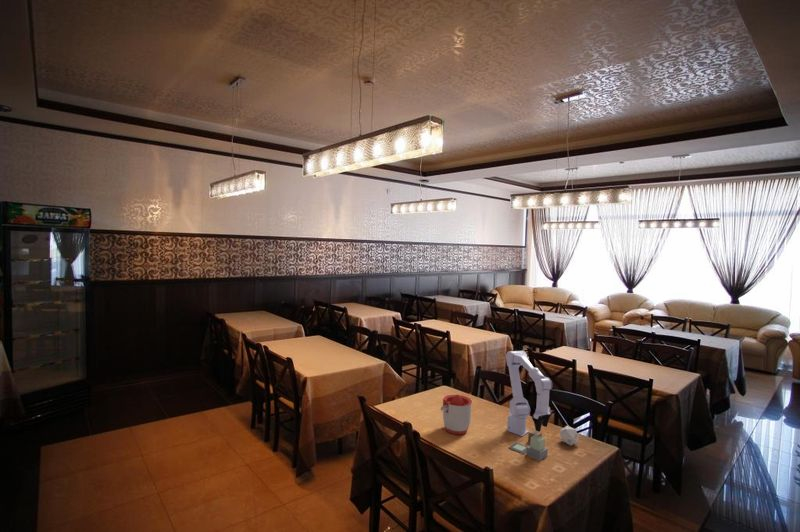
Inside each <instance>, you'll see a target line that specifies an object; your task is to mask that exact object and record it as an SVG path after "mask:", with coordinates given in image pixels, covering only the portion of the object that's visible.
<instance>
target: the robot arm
mask: <svg viewBox="0 0 800 532" xmlns="http://www.w3.org/2000/svg"><path fill="white" fill-rule="evenodd" d="M505 360H506V366H507V367H508V372H509V378H510V379H509V380H510V385H511V392H512V397H513V398H511V400H510V401H509V414H508V415H507V422H506V423H507V426H506V427H507V428H506V431H507V432H510V433H512V434H515V435H517V436H521V437H523V436H525V435H526V434H527V433H528V432H530V431H529V430H528V429H527V418H528V417H529V415H530V413H531V407H530V404H529V401H528V400H527V399H526V398H525V397H524V394H523V388H522V383H521V376H520V369H519V368H520V366H522V367H523V368H525V369H526V371H527V372H528V376H529V377H530V378H531V380H532V381H533V382H534V386H535V391H536V408H535V410H534V411H535V412H534V414H533V415H532V416H531V419H532V421H533V424H534V428H535V429H534V430H536V431H539V432H541V430H542V426H543V427H544V428H545V427H546V428H547V427H548V425H549V421H550V418H551V417H552V415H553V413H552V412H551V407H550V406H549V405H550V404H549V402H550V390H552V389H553V381H552V380H551V378H550V377H547V376H545V375H544V374H543V373H542V372H541V371H540V369H539V368H538V367H534V366H533V364H532V363H531V362H530V360H529V359H528V354H527V353H526V352H525V350H523V349H522V350H513V351H512V350H509V351H507V353H506V355H505Z"/></svg>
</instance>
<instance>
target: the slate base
mask: <svg viewBox="0 0 800 532" xmlns="http://www.w3.org/2000/svg"><path fill="white" fill-rule="evenodd" d="M525 454H526V455H527V456H528V457H530V458H532V459H535V460H537V461H539V462H541V461H542V460H544V459H546V458H547V457H548V448H547V447H545V448H544V449H543V450H541V451H537V450H535V449H532V448H530V445H529V446H527V452H526V453H525Z"/></svg>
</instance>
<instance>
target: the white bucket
mask: <svg viewBox="0 0 800 532" xmlns="http://www.w3.org/2000/svg"><path fill="white" fill-rule="evenodd" d="M472 403H473V401H472V399H471V398H470V397H468V396H465V395H462V394H449V395H446V396H444V397H443V398H442V406H441V407H440V412H442V419H443V424H444V429H445V430H446V431H447V433H449V434H452V435H464V434H466V433H467V432H468V430H469V428H470V424H471V419H472Z"/></svg>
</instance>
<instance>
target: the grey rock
mask: <svg viewBox="0 0 800 532" xmlns="http://www.w3.org/2000/svg"><path fill="white" fill-rule="evenodd" d="M559 435H560V438H561V441H562V442H563V443H565V444H566V445H568V446H573V445H574V444H576V443H577V442H578V441H579V440H580V438H579V435H578V432H577V429H576V428H574V427H571V426H570V425H565V427H562V428H561V429H560V430H559Z"/></svg>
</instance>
